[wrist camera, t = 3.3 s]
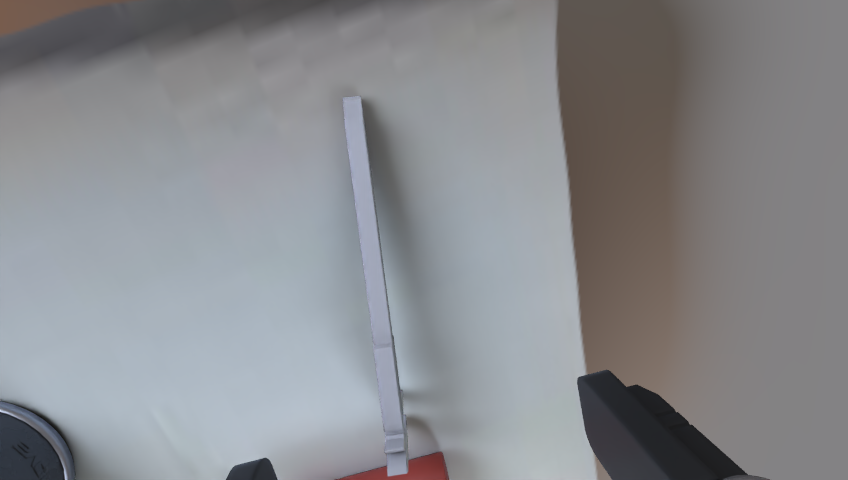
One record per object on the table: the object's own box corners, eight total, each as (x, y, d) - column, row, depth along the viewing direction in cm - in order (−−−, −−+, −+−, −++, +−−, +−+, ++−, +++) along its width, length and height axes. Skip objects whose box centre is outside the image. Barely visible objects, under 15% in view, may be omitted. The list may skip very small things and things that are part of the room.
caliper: (407, 418, 27) (412, 496, 20) (391, 420, 27) (391, 500, 20) (361, 96, 22) (349, 73, 16) (341, 98, 22) (322, 76, 16)
